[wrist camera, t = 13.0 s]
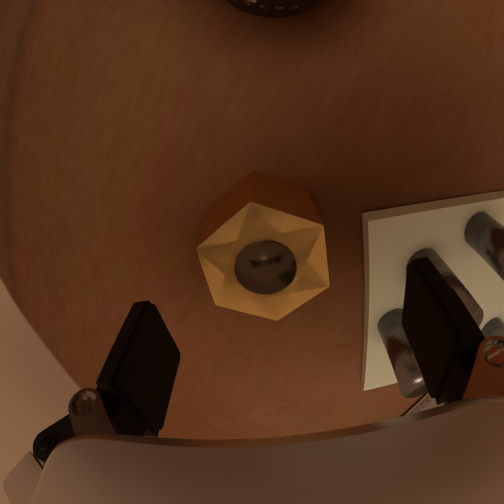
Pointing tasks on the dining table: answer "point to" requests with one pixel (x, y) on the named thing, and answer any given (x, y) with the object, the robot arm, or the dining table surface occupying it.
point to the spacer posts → (496, 256)
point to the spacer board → (399, 252)
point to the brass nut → (264, 248)
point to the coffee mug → (274, 6)
